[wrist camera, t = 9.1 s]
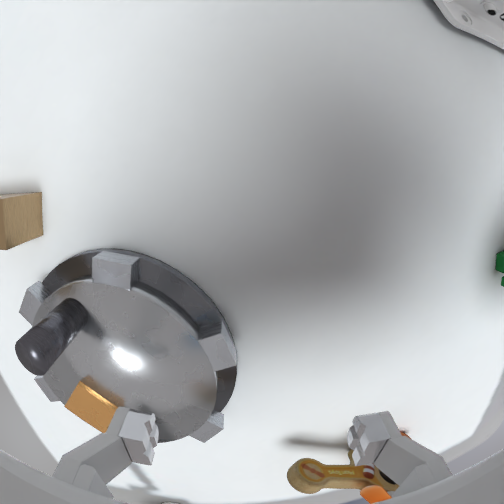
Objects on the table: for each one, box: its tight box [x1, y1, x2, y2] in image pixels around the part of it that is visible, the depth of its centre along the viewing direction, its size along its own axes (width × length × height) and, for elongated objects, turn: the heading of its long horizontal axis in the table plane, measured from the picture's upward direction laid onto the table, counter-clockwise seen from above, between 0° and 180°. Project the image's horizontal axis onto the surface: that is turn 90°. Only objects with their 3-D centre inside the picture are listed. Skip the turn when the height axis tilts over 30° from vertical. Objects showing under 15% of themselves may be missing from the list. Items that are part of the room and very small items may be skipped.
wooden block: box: [0, 192, 43, 250], centre depth 16 cm, size 6×4×5 cm, turn 86°
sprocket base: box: [42, 249, 237, 412], centre depth 22 cm, size 19×19×1 cm
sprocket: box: [15, 251, 237, 443], centre depth 17 cm, size 18×19×8 cm
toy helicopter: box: [287, 432, 411, 504], centre depth 22 cm, size 7×18×12 cm, turn 67°
